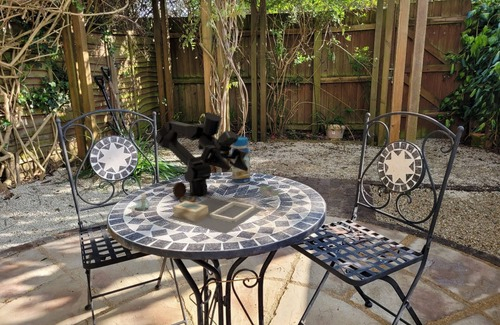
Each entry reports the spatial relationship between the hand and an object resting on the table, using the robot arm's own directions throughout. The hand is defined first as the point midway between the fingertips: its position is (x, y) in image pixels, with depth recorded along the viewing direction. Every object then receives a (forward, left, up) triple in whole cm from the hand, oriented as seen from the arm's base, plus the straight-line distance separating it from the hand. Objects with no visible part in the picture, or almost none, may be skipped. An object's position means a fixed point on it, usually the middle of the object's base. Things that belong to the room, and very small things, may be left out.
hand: (238, 169), depth 115 cm
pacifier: (-33, -16, -16) cm, 39 cm away
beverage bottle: (-18, +29, -15) cm, 37 cm away
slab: (-11, -12, -15) cm, 22 cm away
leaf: (+2, +19, -16) cm, 24 cm away
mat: (-5, -6, -15) cm, 17 cm away
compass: (-24, -1, -16) cm, 28 cm away
